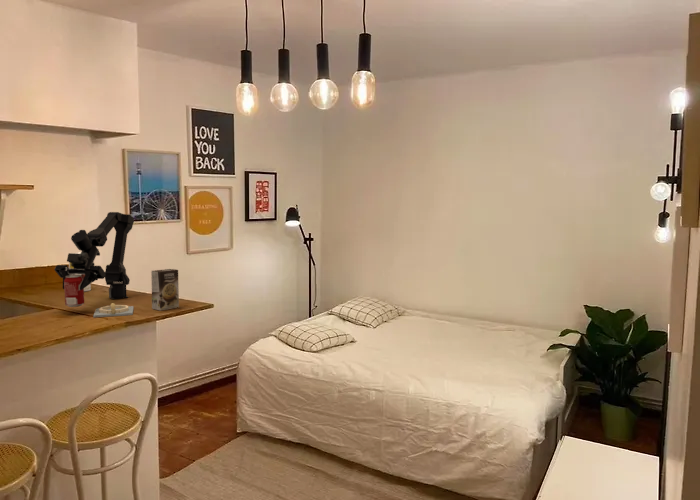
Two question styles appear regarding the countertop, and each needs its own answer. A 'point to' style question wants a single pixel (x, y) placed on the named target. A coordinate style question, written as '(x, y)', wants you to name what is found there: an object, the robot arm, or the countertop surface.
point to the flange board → (113, 311)
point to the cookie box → (165, 289)
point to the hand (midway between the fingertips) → (72, 289)
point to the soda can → (73, 291)
